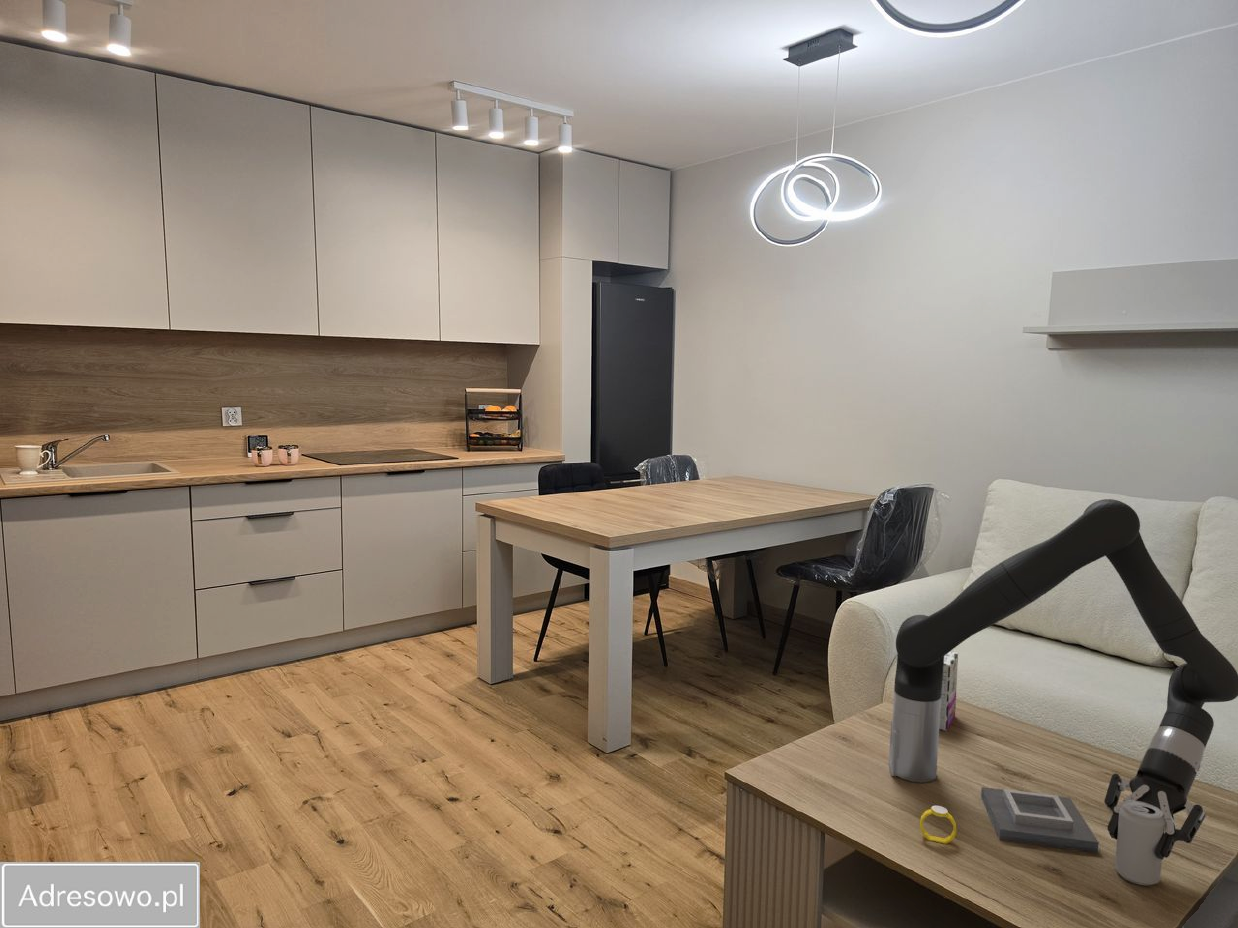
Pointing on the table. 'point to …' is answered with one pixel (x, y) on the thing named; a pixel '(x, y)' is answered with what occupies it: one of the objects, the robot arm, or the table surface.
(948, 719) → the candy bar box
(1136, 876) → the beverage can
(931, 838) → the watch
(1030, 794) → the mounting plate
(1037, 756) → the table surface
